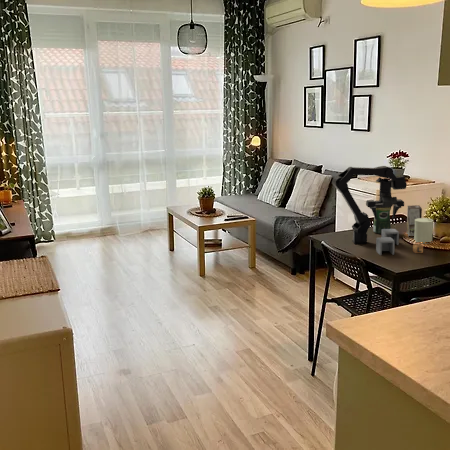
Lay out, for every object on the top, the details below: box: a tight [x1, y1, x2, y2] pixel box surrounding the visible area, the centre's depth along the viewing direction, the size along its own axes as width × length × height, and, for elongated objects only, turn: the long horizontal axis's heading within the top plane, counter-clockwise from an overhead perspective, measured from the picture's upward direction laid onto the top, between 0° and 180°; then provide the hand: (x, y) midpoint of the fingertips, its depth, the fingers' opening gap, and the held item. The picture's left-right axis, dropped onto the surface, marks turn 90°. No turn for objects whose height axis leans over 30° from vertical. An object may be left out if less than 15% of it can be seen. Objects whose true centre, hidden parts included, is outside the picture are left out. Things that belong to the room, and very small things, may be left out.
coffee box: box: [406, 204, 423, 237], centre depth 281 cm, size 9×6×16 cm
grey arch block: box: [380, 228, 400, 246], centre depth 269 cm, size 7×7×7 cm
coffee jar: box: [372, 200, 392, 234], centre depth 290 cm, size 10×8×19 cm
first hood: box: [375, 237, 396, 256], centre depth 254 cm, size 7×7×7 cm
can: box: [413, 217, 434, 244], centre depth 270 cm, size 9×9×12 cm
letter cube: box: [412, 243, 424, 254], centre depth 253 cm, size 4×4×4 cm
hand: (384, 219), depth 273 cm, fingers open, 9 cm apart
